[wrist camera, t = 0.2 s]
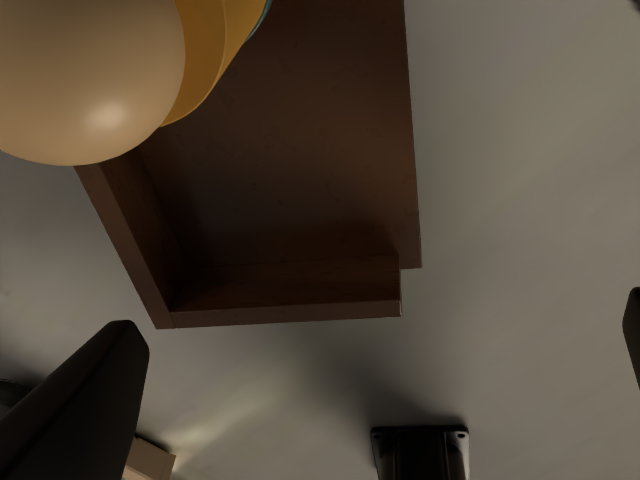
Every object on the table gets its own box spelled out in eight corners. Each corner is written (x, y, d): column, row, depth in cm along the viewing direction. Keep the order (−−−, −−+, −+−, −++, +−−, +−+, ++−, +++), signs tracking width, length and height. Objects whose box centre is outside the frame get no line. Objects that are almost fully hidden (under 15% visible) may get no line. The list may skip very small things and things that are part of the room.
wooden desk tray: (419, 235, 26) (427, 315, 22) (190, 253, 28) (155, 330, 24) (368, -473, 13) (361, -627, 9) (-48, -341, 15) (-221, -412, 11)
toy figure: (195, 420, 38) (-24, 353, 34) (168, 513, 34) (-86, 448, 30) (171, 453, 43) (-23, 398, 39) (145, 538, 38) (-77, 485, 35)
